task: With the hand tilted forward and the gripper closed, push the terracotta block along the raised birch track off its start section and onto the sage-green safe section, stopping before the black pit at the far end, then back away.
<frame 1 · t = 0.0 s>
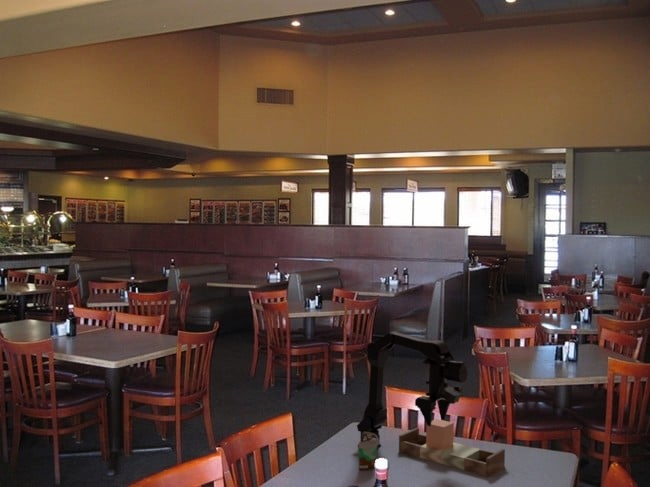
hand: (436, 422, 222), 15 cm above the table, tool pointing down, fingers open, 9 cm apart
terracotta block: (439, 445, 230), point 4 cm above the table, touching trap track
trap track: (449, 458, 228), on the table
food container: (369, 466, 220), on the table
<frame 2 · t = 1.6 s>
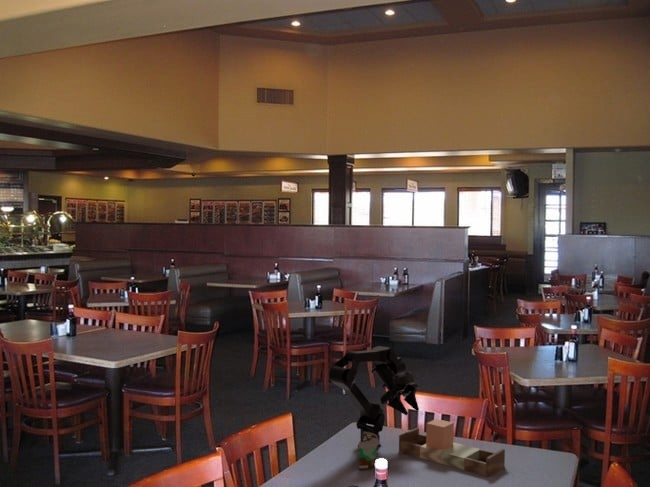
hand: (412, 412, 238), 14 cm above the table, tool tilted 45°, fingers open, 7 cm apart
nothing on the table moved.
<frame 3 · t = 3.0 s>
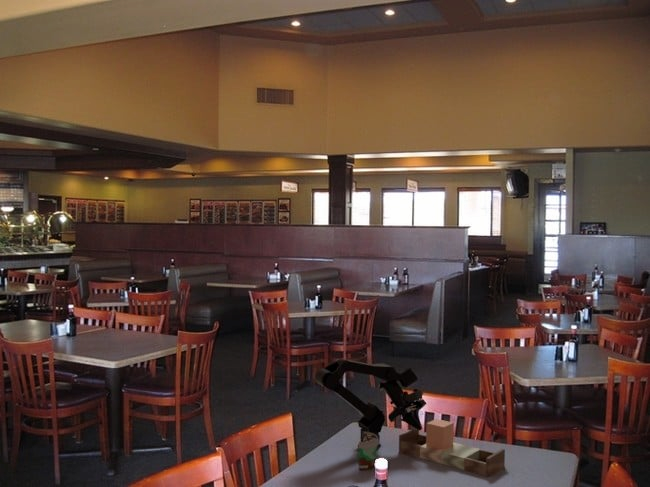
hand: (421, 429, 236), 8 cm above the table, tool tilted 45°, fingers closed
nothing on the table moved.
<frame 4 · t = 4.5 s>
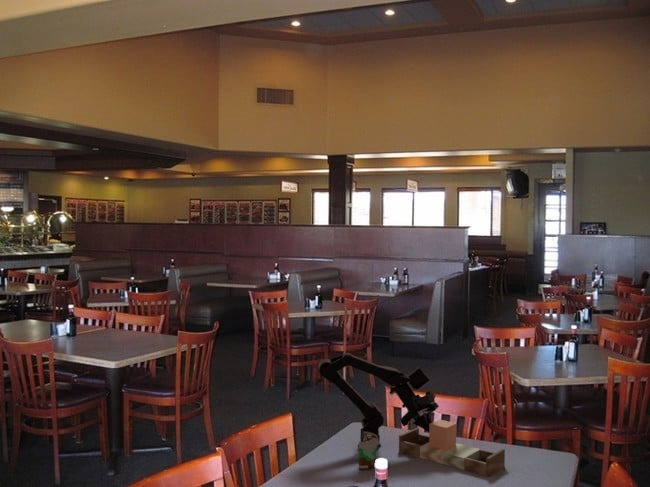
hand: (433, 433, 232), 8 cm above the table, tool tilted 45°, fingers closed
terracotta block: (442, 445, 230), point 4 cm above the table
everything else where it was.
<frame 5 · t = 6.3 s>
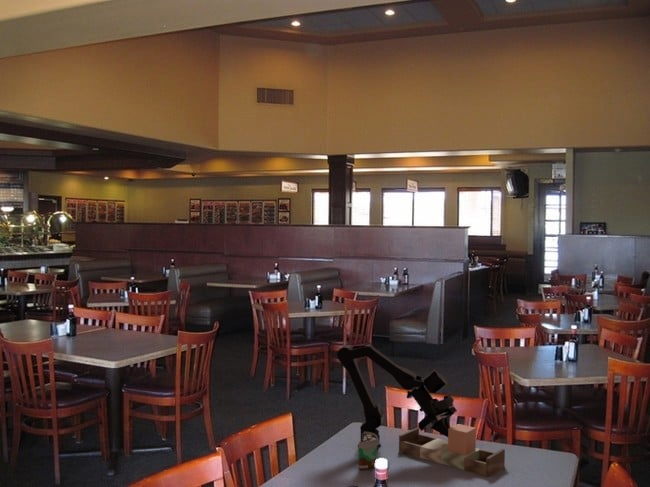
hand: (452, 438, 227), 8 cm above the table, tool tilted 45°, fingers closed, pressing on terracotta block
terracotta block: (461, 450, 225), point 4 cm above the table, touching gripper, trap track
everything else where it was.
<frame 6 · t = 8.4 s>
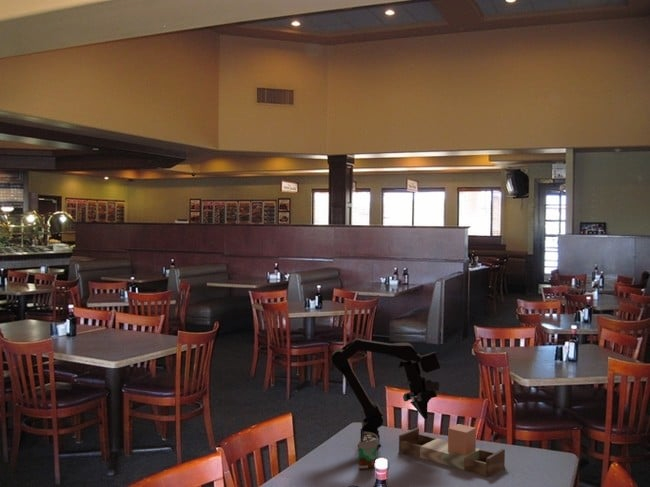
hand: (425, 418, 235), 12 cm above the table, tool tilted 20°, fingers closed
terracotta block: (461, 450, 225), point 4 cm above the table, touching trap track
everything else where it was.
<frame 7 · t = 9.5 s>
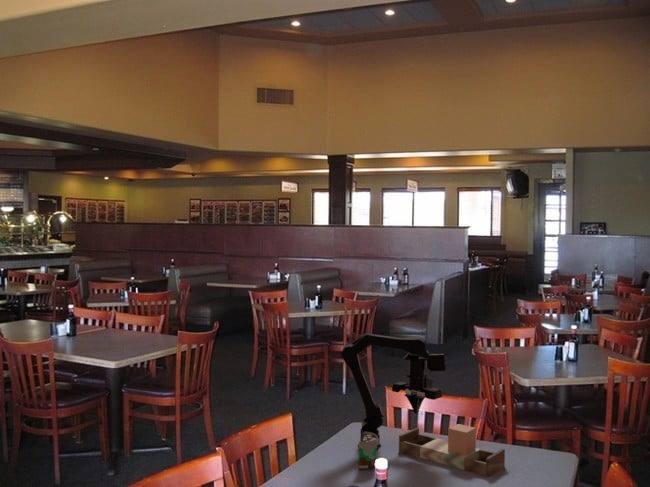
hand: (416, 413, 239), 13 cm above the table, tool pointing down, fingers closed
nothing on the table moved.
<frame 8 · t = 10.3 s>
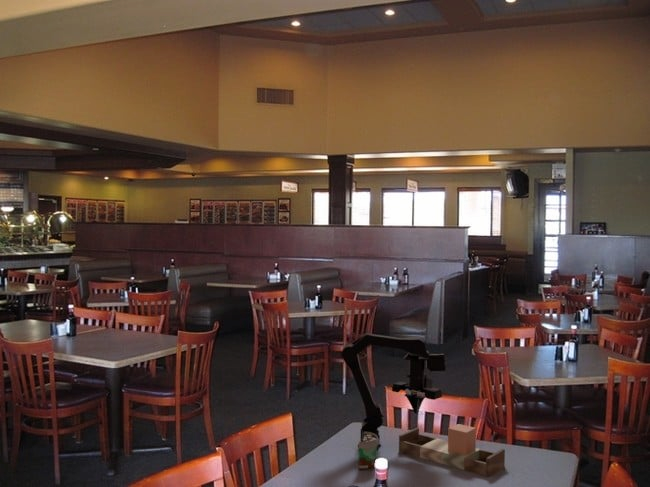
hand: (416, 413, 239), 13 cm above the table, tool pointing down, fingers closed
nothing on the table moved.
at the end: terracotta block 0.0 cm from the target spot, point 4.0 cm above the table; terracotta block tilted 0° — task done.
